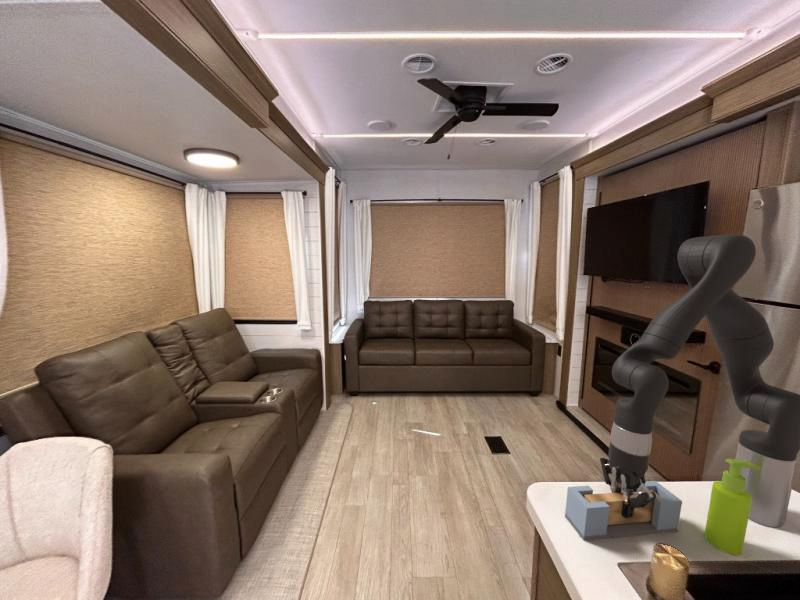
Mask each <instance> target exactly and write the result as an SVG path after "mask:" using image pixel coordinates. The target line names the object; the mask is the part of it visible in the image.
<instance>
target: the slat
mask: <svg viewBox="0 0 800 600" xmlns="http://www.w3.org/2000/svg"><path fill="white" fill-rule="evenodd" d="M649 491H650V492H651V491H653V490H649ZM653 492H654V491H653ZM654 493H655V492H654ZM655 494H656V493H655ZM637 496H638V495H637ZM656 497H660V496H659V495H658V494H656ZM584 498H585V499H586V501H587V502H588V503H589V502H603V501H605V502H606V503H607V504H608V505H609V506H610V507H609V516H608V524H607V525H612V524H624V523H636V522H648V521H652V515H653V508H654V500H655V499H654V500H652V501H651V502H650V503H649V504H647V505H646V506H645V507H644V508H634V515H633V517H631V518H624V517H623V516H622V508H623V502H624V501H623V492H616V493H612V492H605V493H604V492H603V493H593V494H588V495H584ZM630 498H631V495H630Z"/></svg>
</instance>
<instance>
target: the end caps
mask: <svg viewBox="0 0 800 600" xmlns="http://www.w3.org/2000/svg"><path fill="white" fill-rule="evenodd" d="M645 485H646V487H647V488H648V490H653V491H654V492H655V493H656V494H658V495H659V496H660V497H656V498H655V500H654V508H653V515H652V521H648V522H636V523H624V524H612V525H607V524H608V516H609V507H610V506H609V505H608V504H607V503H606V502H605V501H603V502H589V503H588V502H587V501H586V499H585V498H584V495H588V494H594V490H593V488H591V486H590V485H576V486H568V487H567V493H566V502H565V512H564V518H565V519H566V521H568V522H569V524H570V525H571V526H572V527H573V529H574V530H575V531H576V533H577V535H579V537H580V538H581V539H582V540H583V541H592V540H603V539H612V538H622V537H623V538H624V537H634V536H637V537H638V536H646V535H647V536H648V535H657V534H667V533H677V532H678V531H679V525H680V519H681V517H680V516H681V512H682V511H681V510H682V504H683V500H682V499H681V498H679V497H678V496H677V495H675V494H674V493H673V492H671V491H670V490H668V489H667V488H666V487H664V486H663V485H662V484H661V483H659V482H658V481H656V480H652V481H651V480H649V481H646V483H645ZM639 490H640V488H639Z"/></svg>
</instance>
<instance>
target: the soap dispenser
mask: <svg viewBox="0 0 800 600" xmlns="http://www.w3.org/2000/svg"><path fill="white" fill-rule="evenodd" d="M725 463H727V464H729V470H723V472H722V478H721V480H715V481H713V483H712V486H711V493H710V500H709V506H708V511H707V512H708V513H707V515H706V516H707V517H706V524H705V529H704V537H705V539H706V541H708V542H709V543H710V545H712V546H713V547H715V548H717V549H718V550H720V551H721V552H724V553H727V554H729V555H733V556H741V555H742V554H743V550H744V549H743V548H744V544H745V539H746V538H745V537H746V533H747V528H748V522H749V519H748V518H749V512H750V507H751V501H752V497H751V495H750V494H749V493H748V492H746V491H745V490H744V488H745V483H746V479H745V478H744V477H743V476H741V470H742V467H746V468H753V469H757V470H762V468H760V467H759V466H757V465H756V464H754V463H752V462H749V461H745V460H739V459H736V458H725Z"/></svg>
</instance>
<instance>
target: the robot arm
mask: <svg viewBox="0 0 800 600" xmlns="http://www.w3.org/2000/svg"><path fill="white" fill-rule="evenodd" d="M677 251H678V252H677V263H678V267H679V269H680V272H681V273H682V276H684V277H683V278H685V281H686V282H687V283H688V287H689V288H690V289H689V291H687V292H686V293H684V294H683V295H682V296H680V297H679V298H677V299H675V300H674V301H673V302H671V303H669V304H668V305H666V306H665V307H664V308H662V309H661V310H659V312H657V314H656V315H655V316H654V317H653V319H652V320H650V323H649V324H648V325H647V327H646V328H645V330H644V332H643V334H642V336H641V337H640V338H639V339H638V340H637V341H635V342H634V343H633V344H632V345H631V346H630V347H628V348H627V350H625V351H624V352H623V353H622V354H620V356H618V357H617V358H616V360H615V361H614V363H613V364H612V368H611V376H612V379H613V381H614V382H615V383H616V384H617V385H619V386H622V387H623V388H626V389H628V390H629V391H632V392H634V395H633V397H621V398H619V399H617V401H616V403H615V406H614V407H615V409H614V410H615V411H614V415H613V416H614V417H613V423H612V427H611V429H610V436H609V437H610V439H609V447H608V456H607V457H600V458H599V461H600V464H601V469H602V474H603V478H604V483H605V485H608V486H609V488H610V489H609V490H610V491H611V493H616V492H623V501H624V502H623V508H622V516H623V517H624V518H631V517H633V515H634V508H644V507H645V506H646V505H647V504H649V503H650V502H651V501H652V500H654V499H655V498H656V494H655V493H654V492H653V491H651V492H650V491H649V490H648V488H647V487H646V485H645V483H646V482H647V481H646V477H645V475H646V473H647V471H648V470H649V463H650V458H651V450H652V444H653V443H652V442H653V437H652V435H653V433H652V432H653V424H654V417H655V415H656V413H657V411H658V409H659V407H660V405H661V403H662V401H664V397H665V396H666V394H667V392H668V390H669V387H670V386H669V384H670V383H669V382H670V381H669V378H668V376H667V373H666V371H664V370H663V369H662V368H661V367H659V366H656V365H654V364H651V363H652V362H654V361H655V360H666V361H667V360H673V359H674V358H676V357H677V355H678V354H679V353H680V351H681V349H682V348H683V346H684V345H685V343H686V342H687V341H688V339H689V338H690V335H691V334H692V332H693V331H694V330H695V329H696V327H697V326H698V325H699V323H700V322H701V321H702V319H703V318H704V317H705V319H706V321H707V323H708V326H709V330H710V333H711V335H712V337H713V340H714V342H715V345H716V347H717V349H718V350H719V353H720V355H721V358H722V360H723V363H724V366H725V369H726V371H727V376H728V378H729V379H728V380H729V383H730V387H731V391H732V395H733V400H734V402H735V405H736V406H737V408H738V410H740V412H742V414H744V415H745V416H748V418H752V419H754V420H757V421H760V422H762V423H764V424H766V425H769V428H768V429H767V431H762V430H757V429H756V430H755V429H746V430H742V431H740V433H739V437H738V442H737V448H736V455H735V459H739V460H745V461H749V462H752V463H754V464H756V465H757V466H759V467H760V468H762V470H757V469H753V468H746V467H742V470H741V476H743V477H744V478H745V479H746V483H745V488H744V490H745V491H746V492H748V493H749V494H750V495H751V497H752V501H751V507H750V512H749V518H748V520H750V521H752V522H755V523H757V524H761V525H763V526H767V527H771V528H781V527H783V525H784V522H785V521H786V519H787V514H788V509H789V506H790V505H789V504H790V499H791V494H792V489H793V487H792V482H793V477H794V476H793V475H794V471H795V467H796V461H797V456H798V454H799V452H800V394H799V393H797V392H793V391H790V390H787V389H784V388H780V387H777V386H774V385H770V384H768V383H766V382H765V380H764V379H763V377H762V375H761V372H760V366H761V365H762V364H763V363H764V362H765V361H766V360H767V359H768V358H769V356H770V355H771V353H772V351H773V350H774V346H775V341H774V337H773V335H772V332H771V329H770V328H769V324H768V322H767V320H766V318H765V317H764V315H763V314H762V313H761V312H760V311H759V310H758V309H756V308H755V307H754V306H753V305H752V304H751V303H749V302H748V301H747V300H745V299H744V298H743V297H741V295H739V294H738V293H736V292H735V291H734V290H733V287H734V286H735V285H736V284H737V283H738V282H739V281H740V280H741V279H742V278H743V277H744V276H745V274H746V273H747V272H748V270H750V268H751V267H752V264H753V262H754V261H755V259H756V254H757V249H756V245H755V243H754V241H753V240H752V239H751V238H749V237H748V236H746V235H742V234H723V235H722V234H721V235H719V234H718V235H709V236H708V235H707V236H698V237H697V236H695V237H693V238H688V239H686V240H685V241H684V242H682V244H680V246H679V248H678V250H677ZM609 474H610V476H609ZM639 488H640V490H639ZM630 495H631V498H630ZM637 495H638V496H637Z"/></svg>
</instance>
